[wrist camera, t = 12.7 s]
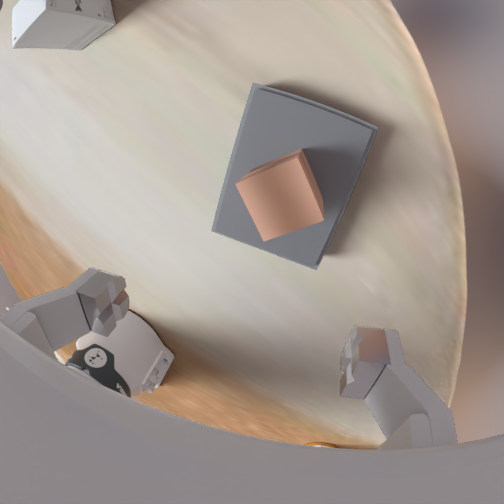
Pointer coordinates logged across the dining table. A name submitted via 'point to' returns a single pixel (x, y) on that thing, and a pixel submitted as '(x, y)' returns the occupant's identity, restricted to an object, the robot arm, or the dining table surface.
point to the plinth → (317, 154)
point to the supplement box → (60, 23)
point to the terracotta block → (282, 195)
